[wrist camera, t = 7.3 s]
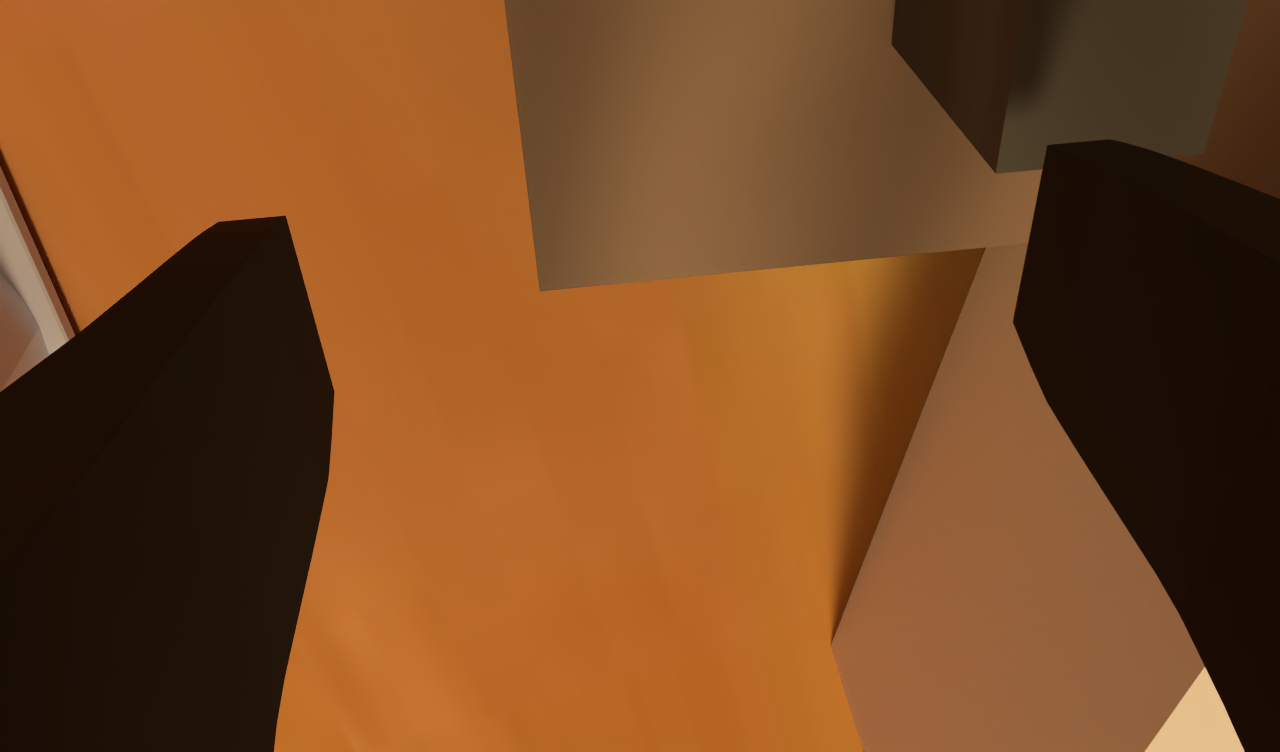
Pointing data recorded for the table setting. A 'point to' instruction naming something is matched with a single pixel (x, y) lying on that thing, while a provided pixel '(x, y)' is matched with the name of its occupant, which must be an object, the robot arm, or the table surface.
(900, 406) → the table surface
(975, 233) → the lid
